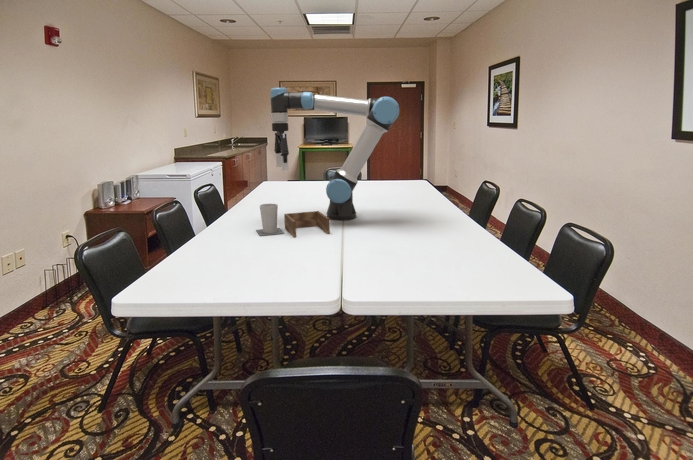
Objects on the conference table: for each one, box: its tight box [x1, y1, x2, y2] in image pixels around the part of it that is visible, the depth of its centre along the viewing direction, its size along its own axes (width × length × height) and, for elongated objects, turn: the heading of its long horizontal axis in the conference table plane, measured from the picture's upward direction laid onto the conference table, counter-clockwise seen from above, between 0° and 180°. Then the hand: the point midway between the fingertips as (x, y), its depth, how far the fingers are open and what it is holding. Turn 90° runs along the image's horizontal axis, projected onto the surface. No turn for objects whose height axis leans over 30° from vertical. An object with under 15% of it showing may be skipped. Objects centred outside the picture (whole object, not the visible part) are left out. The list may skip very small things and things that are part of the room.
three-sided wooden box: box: [283, 210, 331, 238], centre depth 215 cm, size 16×17×7 cm
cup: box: [259, 203, 279, 233], centre depth 213 cm, size 8×8×12 cm
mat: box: [255, 227, 285, 237], centre depth 215 cm, size 11×11×1 cm
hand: (282, 168), depth 225 cm, fingers open, 13 cm apart
